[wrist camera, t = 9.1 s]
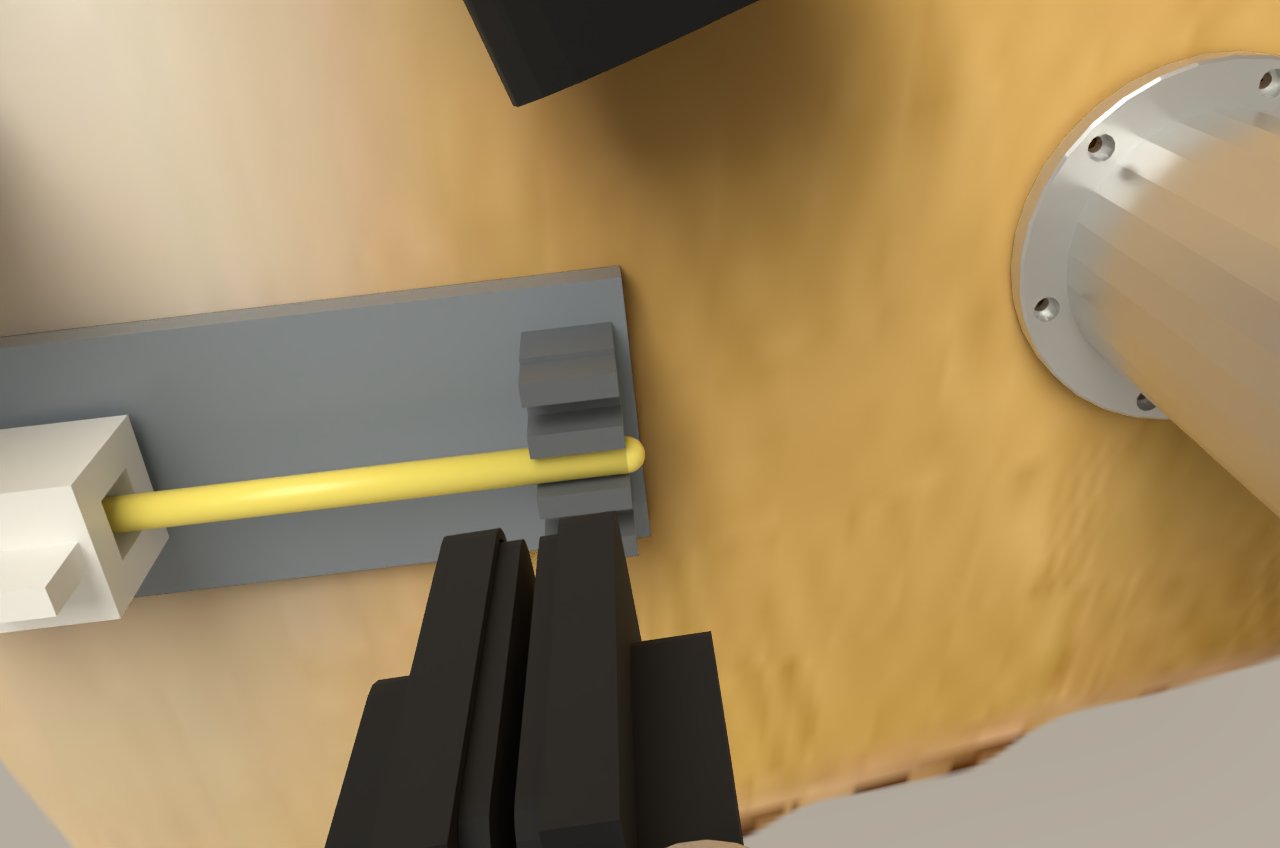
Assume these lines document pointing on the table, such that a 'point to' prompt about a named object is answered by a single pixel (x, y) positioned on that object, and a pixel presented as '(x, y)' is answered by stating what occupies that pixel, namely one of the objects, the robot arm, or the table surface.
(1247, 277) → the robot arm
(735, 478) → the table surface
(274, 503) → the fibre cord
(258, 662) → the table surface
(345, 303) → the board
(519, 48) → the black cylinder
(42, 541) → the sleeve
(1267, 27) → the table surface
